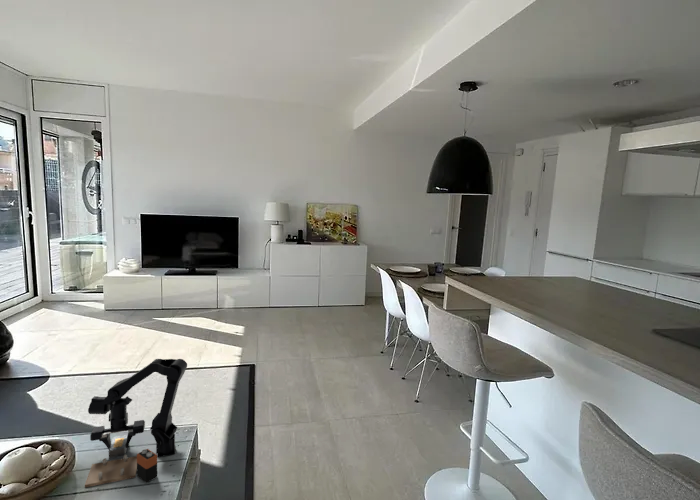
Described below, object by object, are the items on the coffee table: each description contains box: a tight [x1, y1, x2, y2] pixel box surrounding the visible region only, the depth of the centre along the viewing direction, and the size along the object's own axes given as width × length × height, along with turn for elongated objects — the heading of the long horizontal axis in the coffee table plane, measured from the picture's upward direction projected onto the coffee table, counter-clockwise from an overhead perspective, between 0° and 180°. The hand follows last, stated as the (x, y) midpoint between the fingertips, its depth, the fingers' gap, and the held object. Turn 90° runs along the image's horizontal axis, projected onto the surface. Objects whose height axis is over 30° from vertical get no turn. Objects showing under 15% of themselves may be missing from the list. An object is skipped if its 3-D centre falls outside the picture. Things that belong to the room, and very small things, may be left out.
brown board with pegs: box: [84, 454, 137, 488], centre depth 146 cm, size 16×12×3 cm
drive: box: [108, 434, 128, 461], centre depth 158 cm, size 10×6×4 cm, turn 23°
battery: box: [136, 448, 158, 484], centre depth 144 cm, size 4×7×10 cm, turn 57°
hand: (118, 449), depth 158 cm, fingers closed on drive, 5 cm apart
